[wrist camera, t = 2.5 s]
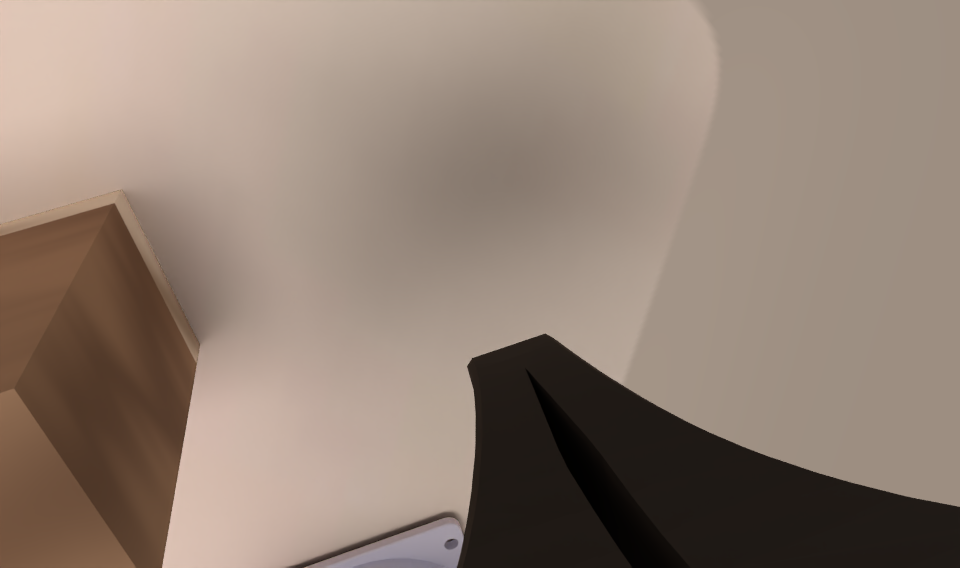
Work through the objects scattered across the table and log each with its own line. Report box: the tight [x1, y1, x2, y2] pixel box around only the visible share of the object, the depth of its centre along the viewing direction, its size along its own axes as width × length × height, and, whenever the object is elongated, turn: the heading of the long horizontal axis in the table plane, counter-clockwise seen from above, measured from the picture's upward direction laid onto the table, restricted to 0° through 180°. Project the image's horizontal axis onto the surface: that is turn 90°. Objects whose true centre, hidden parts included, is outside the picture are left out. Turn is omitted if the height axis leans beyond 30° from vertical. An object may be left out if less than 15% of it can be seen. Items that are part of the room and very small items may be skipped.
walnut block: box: [0, 190, 200, 568], centre depth 16 cm, size 5×5×9 cm
